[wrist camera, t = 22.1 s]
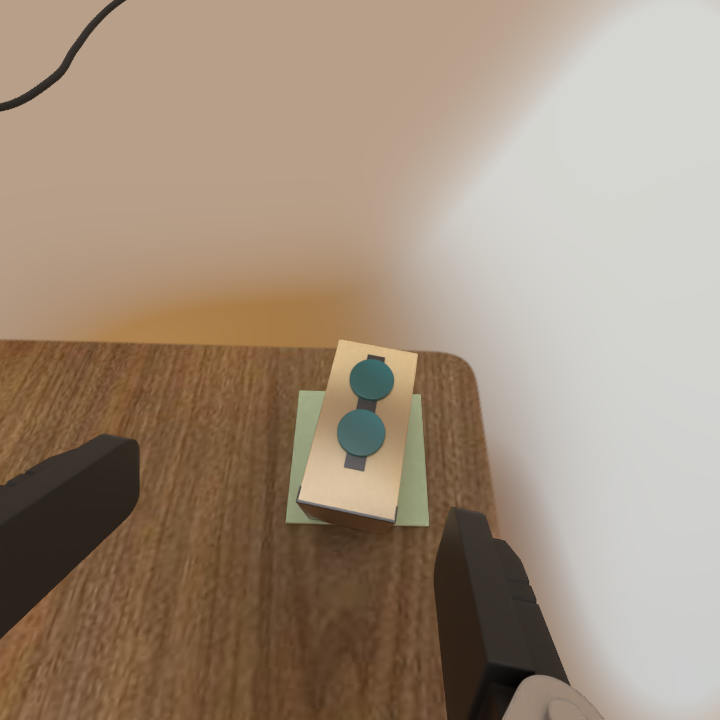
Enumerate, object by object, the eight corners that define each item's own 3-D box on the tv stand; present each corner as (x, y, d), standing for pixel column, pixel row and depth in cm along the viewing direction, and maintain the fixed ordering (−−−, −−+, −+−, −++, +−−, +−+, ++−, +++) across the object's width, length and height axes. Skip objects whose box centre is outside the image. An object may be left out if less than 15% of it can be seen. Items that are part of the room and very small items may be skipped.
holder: (339, 388, 28) (338, 335, 21) (402, 400, 27) (420, 350, 21) (308, 518, 23) (294, 501, 17) (381, 535, 23) (396, 523, 17)
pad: (300, 393, 28) (299, 390, 27) (419, 397, 28) (420, 393, 28) (286, 523, 24) (285, 522, 23) (427, 526, 24) (429, 525, 23)
